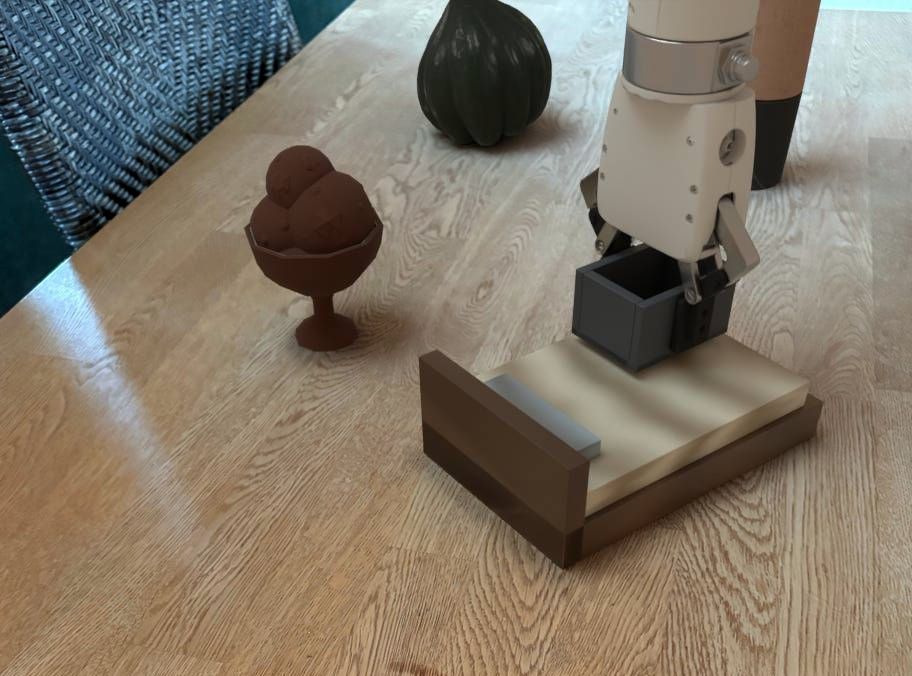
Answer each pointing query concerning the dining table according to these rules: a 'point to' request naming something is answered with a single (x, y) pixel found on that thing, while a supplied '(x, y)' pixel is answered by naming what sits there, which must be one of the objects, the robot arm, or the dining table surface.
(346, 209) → the ice cream bowl
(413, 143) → the dining table surface
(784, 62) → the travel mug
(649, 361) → the basket
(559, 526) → the bed
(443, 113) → the squash
